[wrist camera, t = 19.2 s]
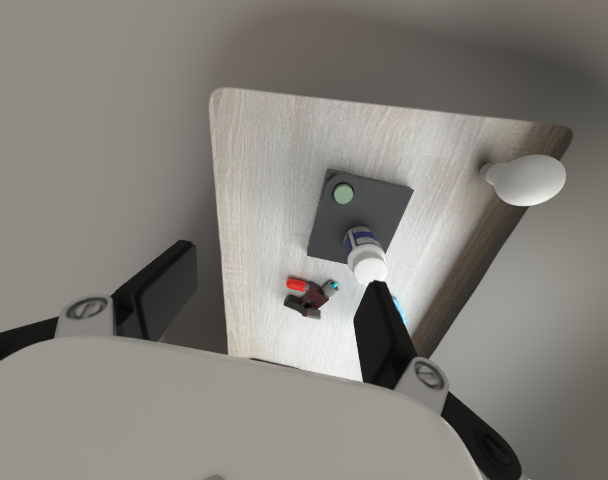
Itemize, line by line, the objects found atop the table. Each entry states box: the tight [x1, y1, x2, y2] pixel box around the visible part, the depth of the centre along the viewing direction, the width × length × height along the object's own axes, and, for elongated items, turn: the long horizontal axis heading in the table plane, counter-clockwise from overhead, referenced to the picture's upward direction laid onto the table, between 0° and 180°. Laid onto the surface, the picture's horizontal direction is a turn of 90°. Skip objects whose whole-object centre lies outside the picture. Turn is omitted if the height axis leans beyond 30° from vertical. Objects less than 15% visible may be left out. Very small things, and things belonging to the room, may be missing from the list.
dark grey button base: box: [307, 169, 414, 264], centre depth 38 cm, size 16×14×4 cm
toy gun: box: [284, 279, 338, 319], centre depth 45 cm, size 10×12×5 cm
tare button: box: [334, 184, 353, 204], centre depth 33 cm, size 3×3×2 cm
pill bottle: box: [343, 226, 387, 285], centre depth 34 cm, size 6×6×10 cm
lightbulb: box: [479, 155, 566, 206], centre depth 29 cm, size 6×6×11 cm
